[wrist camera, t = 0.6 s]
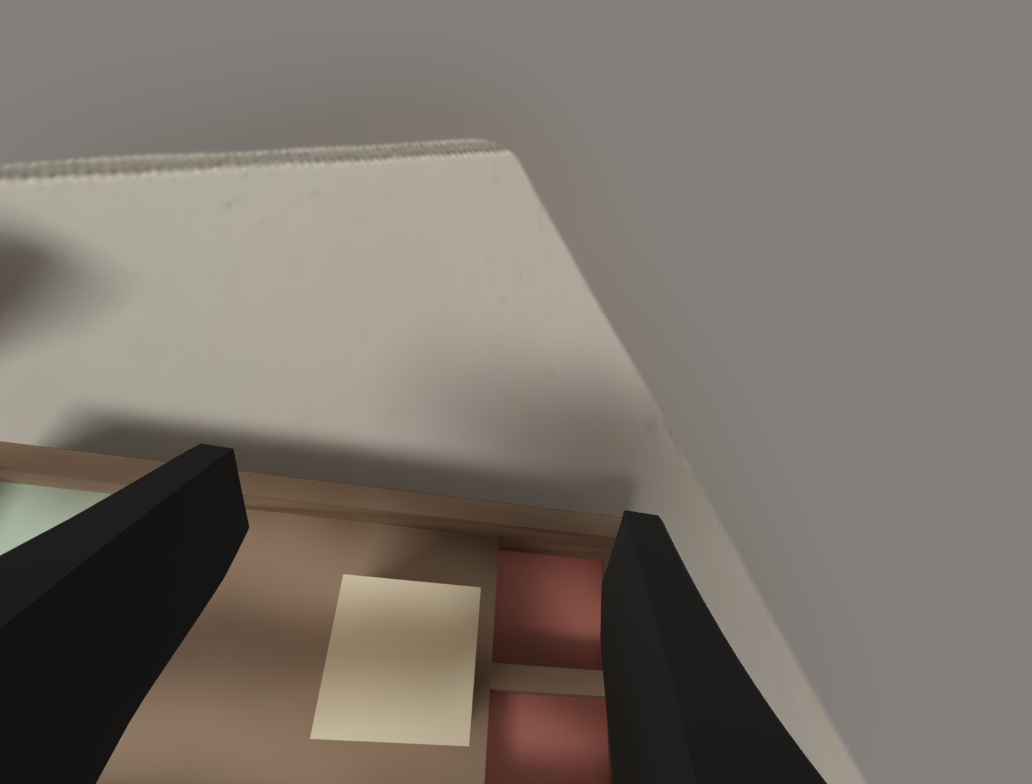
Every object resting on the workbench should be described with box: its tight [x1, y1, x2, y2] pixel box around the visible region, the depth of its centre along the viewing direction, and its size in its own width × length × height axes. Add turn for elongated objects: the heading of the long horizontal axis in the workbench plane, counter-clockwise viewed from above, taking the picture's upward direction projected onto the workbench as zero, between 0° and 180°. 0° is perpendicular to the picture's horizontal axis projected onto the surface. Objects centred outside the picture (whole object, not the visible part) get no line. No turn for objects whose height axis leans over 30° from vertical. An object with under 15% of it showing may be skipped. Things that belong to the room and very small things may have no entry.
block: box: [310, 574, 481, 746], centre depth 21 cm, size 5×5×5 cm
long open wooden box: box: [0, 441, 622, 784], centre depth 23 cm, size 14×30×4 cm, turn 88°
